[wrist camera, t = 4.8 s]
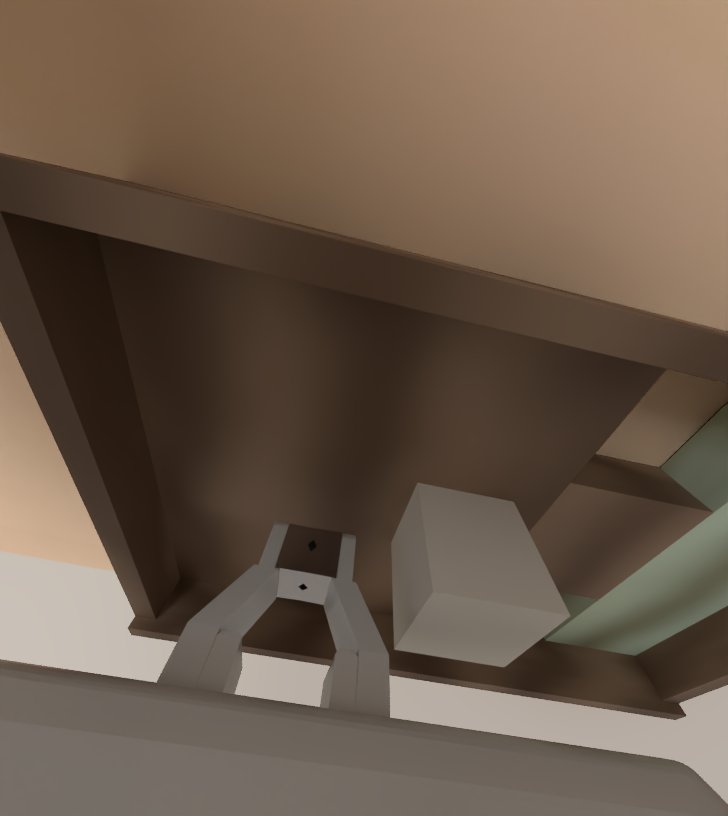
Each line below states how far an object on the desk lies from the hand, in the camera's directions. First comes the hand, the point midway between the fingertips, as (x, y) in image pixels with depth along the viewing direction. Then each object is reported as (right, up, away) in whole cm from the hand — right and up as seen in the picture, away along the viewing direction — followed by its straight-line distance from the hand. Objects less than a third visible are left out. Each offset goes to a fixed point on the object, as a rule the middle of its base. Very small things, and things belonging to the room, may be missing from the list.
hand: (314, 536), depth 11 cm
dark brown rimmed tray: (+7, +1, +4) cm, 8 cm away
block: (+5, 0, +2) cm, 6 cm away
